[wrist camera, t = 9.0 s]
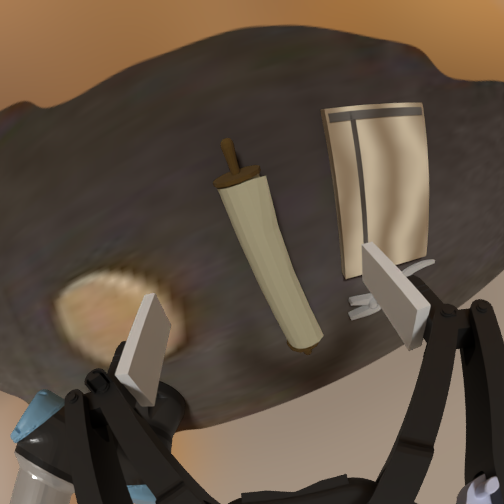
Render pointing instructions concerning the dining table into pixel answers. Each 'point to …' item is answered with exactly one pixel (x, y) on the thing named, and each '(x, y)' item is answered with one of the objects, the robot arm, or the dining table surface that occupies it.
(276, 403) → the dining table surface
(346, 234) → the marking board
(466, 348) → the robot arm
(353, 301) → the pliers
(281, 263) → the rolling pin
